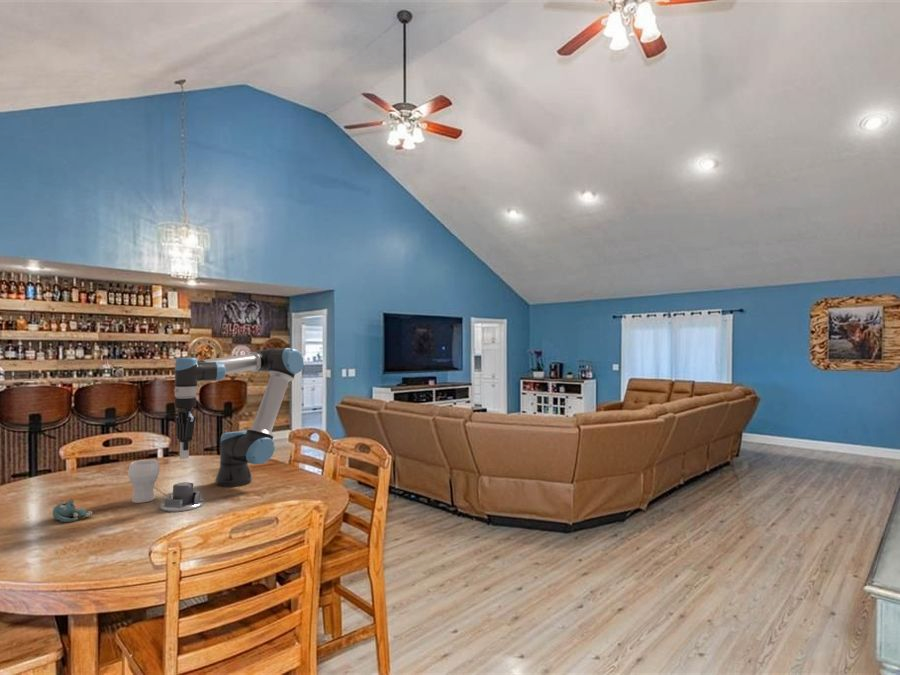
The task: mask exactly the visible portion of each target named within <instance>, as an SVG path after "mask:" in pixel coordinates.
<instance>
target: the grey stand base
mask: <svg viewBox="0 0 900 675" xmlns="http://www.w3.org/2000/svg"><path fill="white" fill-rule="evenodd" d="M182 502H183V499H173V497H172V494H171V493H168V494H166V495H165V497H164V502H163V503H160V505H159V508H160V511H162V512H168V513H169V512H170V513H179V512H187V511H192V510H196V509H199V508H201V507H202V506H204V504H205V500H204V499H203V498H201V491H196V490H195V491H194V490H193V503H191V504H189V505H184V506H182Z"/></svg>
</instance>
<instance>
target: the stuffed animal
mask: <svg viewBox="0 0 900 675" xmlns="http://www.w3.org/2000/svg"><path fill="white" fill-rule="evenodd" d="M92 515H93V511H89V510H88V511H87V510H86V509H85V508H82V507H80V508H76V506H75V503H74V499H70V500H68V501H65V502H63V501H62V502H61V503H58V504H57V505H56V506H54V508H53V510H52V516H53V519H55V520H58V521H60V523H71V522H75V521H78V519H79V518H83V517H84V518H85V517H86V518H89V517H90V516H92Z"/></svg>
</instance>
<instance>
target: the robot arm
mask: <svg viewBox="0 0 900 675" xmlns="http://www.w3.org/2000/svg"><path fill="white" fill-rule="evenodd" d="M304 364H305V362H304V357H303V354H302V353H301V351H299V350H298V349H297V348H291V347H286V348H284V347H283V348H282V347H280V348H279V347H277V348H276V347H271V348H266V349H262V350H261V349H260V350H256V351H250V352H249V353H248V354H241V355H240V354H239V355H232V356H223V357H218V358H217V357H216V358H208V359H201V360H198V358H197V357H177V358H176V359H175V365H174V389H173V392H174V397H175V398H174V401H173V402H174V404H173V407H174V408H175V409H177V410H178V411H177V413H175V414H174V418H175V428H176V437H177V440H179V460H183V459H189V456H190V455H189V454H190V441H192V440H193V435H194V429H195V428H194V427H195V422H196V419H197V417H196V415H195V416H193V408H196V407H197V397H196V396H197V392H198V390H197V389H198V388H197V384H198V382H210V381H215V382H216V381H221V380H223V379H224V378H225V377H226V375H227V374H237V373H242V372H248V371H251V372H253V373H257V372H267V373H268V374H269V380H268V382H267V385H266V388H265V391H264V393H263V397H262V399H261V401H260V404H259V406H258V410H257V413H256V415H255V417H254V418H255V419H254V421H253V423H252V426H251V427H249V428H247V430H238V431H237V430H235V431H228V432H224V433H222V434H221V436H220V441H219V443H220V447H219V448H220V455H219V456H220V457H219V469H218V472H217V474H216V477H215V482H214V484H215V485H216V486H217V487H218V486H219V487H223V488H224V487H225V488H226V487H227V488H229V487H239V486H244V485H247V484H250V483H251V482H252V477H253V476H252V473H251V471H250V467H249V464H252V465H264V464H265V463H266V462H268V461H270V459H271V458H272V457H273V455H274V452H275V450H276V448H275V447H276V446H275V442H274V440H273V439H274V434H273V432H272V431H273V429H274V425H275V423H276V419H277V417H278V414H279V412H280V409H281V405H282V402H283V401H284V400H283V399H284V396H285V394H286V391H287V389H288V385H289V382H291V381H293V380H294V379H295V375H296V374H299V373H300V372H301V371H302V370H303V368H304Z"/></svg>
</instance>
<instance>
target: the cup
mask: <svg viewBox="0 0 900 675" xmlns="http://www.w3.org/2000/svg"><path fill="white" fill-rule="evenodd" d="M159 475H160V465H159V461H158V460H157V459H142V460H136V461H132V462H130V463H129V468H128V474H127V476H128V478H129V482H130V483H131V485H132V488H133V489H132V490H133V493H132V497H131V502H132V503H137V504H138V503H139V504H140V503H146V502H151V501H154V500H155V493H154V492H155V491H154V486H155V482H156V481H157V479H158V478H159Z"/></svg>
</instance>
